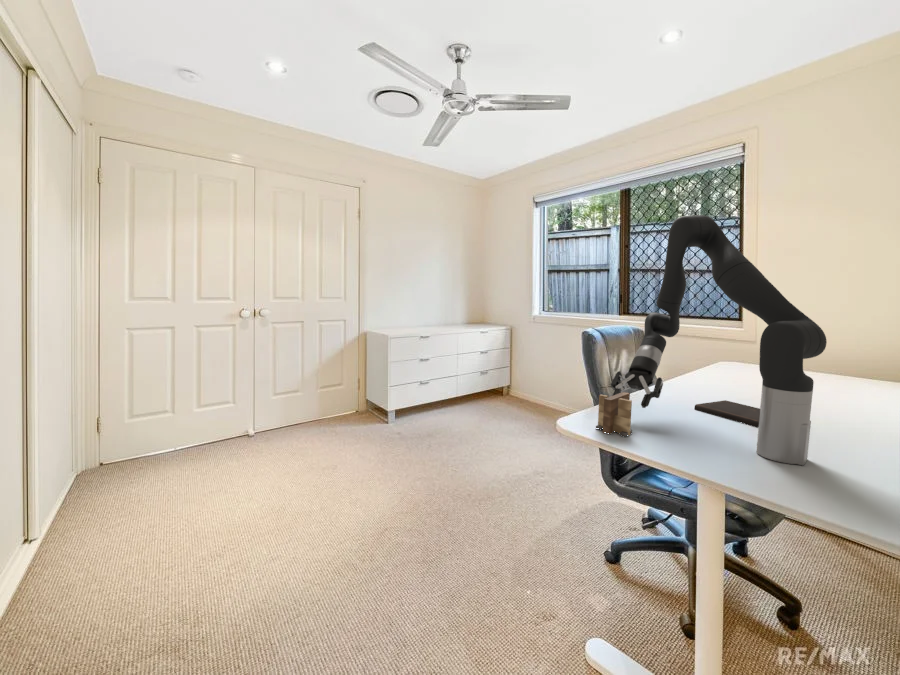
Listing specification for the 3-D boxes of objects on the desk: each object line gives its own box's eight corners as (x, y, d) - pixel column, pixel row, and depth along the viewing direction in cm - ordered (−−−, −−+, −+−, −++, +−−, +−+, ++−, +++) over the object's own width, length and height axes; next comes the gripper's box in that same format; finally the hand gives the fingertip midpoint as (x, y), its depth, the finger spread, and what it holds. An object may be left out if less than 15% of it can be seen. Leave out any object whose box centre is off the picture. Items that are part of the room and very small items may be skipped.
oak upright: (632, 433, 111) (634, 399, 110) (625, 437, 109) (627, 402, 108) (602, 426, 118) (603, 393, 117) (595, 429, 115) (596, 395, 114)
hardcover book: (724, 406, 142) (725, 400, 141) (801, 425, 120) (801, 418, 120) (694, 411, 136) (694, 404, 135) (768, 432, 114) (769, 424, 114)
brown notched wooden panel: (628, 425, 119) (629, 393, 118) (609, 434, 111) (610, 400, 110) (621, 423, 120) (623, 391, 119) (602, 432, 112) (604, 398, 111)
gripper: (620, 352, 130) (602, 392, 123) (667, 357, 119) (650, 401, 113) (626, 366, 134) (609, 405, 127) (672, 372, 123) (656, 415, 117)
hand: (628, 403), depth 120 cm, fingers open, 8 cm apart
